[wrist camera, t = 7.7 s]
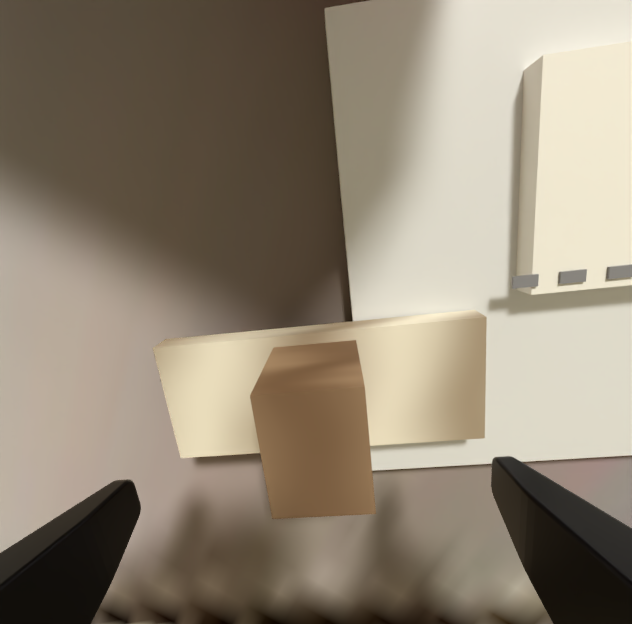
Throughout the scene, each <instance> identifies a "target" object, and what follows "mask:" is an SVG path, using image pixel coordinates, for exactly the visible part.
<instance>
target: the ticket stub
mask: <svg viewBox="0 0 632 624" xmlns="http://www.w3.org/2000/svg"><path fill="white" fill-rule="evenodd" d="M486 328H487V317H486V316H484V315H483V314H481V313H479V312H478V311H476V310H466V311H456V312H445V313H435V314H424V315H414V316H403V317H393V318H382V319H372V320H361V321H351V322H341V323H330V324H320V325H309V326H299V327H288V328H278V329H267V330H257V331H246V332H236V333H225V334H215V335H205V336H194V337H184V338H173V339H165V340H164V341H163V342H161V343H160V344H158V345H157V346H155V347H154V348H153V351H154V355H155V359H156V363H157V367H158V371H159V375H160V379H161V382H162V386H163V390H164V394H165V398H166V402H167V406H168V410H169V414H170V418H171V421H172V425H173V429H174V433H175V437H176V441H177V445H178V449H179V453H180V457H181V458H191V457H206V456H222V455H237V454H252V453H260V454H261V460H262V465H263V471H264V476H265V481H266V487H267V492H268V498H269V503H270V508H271V514H272V519H281V518H301V517H322V516H342V515H362V514H376V510H375V498H374V487H373V475H372V464H371V452H370V446H375V445H390V444H405V443H421V442H436V441H451V440H466V439H482V438H485V393H486Z"/></svg>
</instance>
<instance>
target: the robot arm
mask: <svg viewBox="0 0 632 624" xmlns="http://www.w3.org/2000/svg"><path fill="white" fill-rule="evenodd" d="M491 487H492V493H493V496H494V499H495V501H496V503H497V506H498V508H499V510H500V513H501V515H502V518H503V520H504V522H505V525H506V527H507V529H508V532H509V534H510V537H511V539H512V541H513V544H514V546H515V548H516V551H517V553H518V556H519V558H520V560H521V562H522V565H523V567H524V569H525V571H526V573H527V575H528V577H529V579H530V581H531V583H532V584H533V586H534V588H535V590H536V592H537V594H538V596H539V598H540V599H541V601H542V603H543V605H544V607H545V609H546V611H547V613H548V614H549V616H550V618H551V620H552V622H553V624H632V528H630V527H629V526H627V525H625V524H624V523H622V522H620V521H619V520H617V519H615V518H614V517H612V516H610V515H609V514H607V513H605V512H604V511H602V510H600V509H599V508H597V507H595V506H594V505H592V504H590V503H589V502H587V501H585V500H584V499H582V498H580V497H579V496H577V495H575V494H574V493H572V492H570V491H569V490H567V489H565V488H564V487H562V486H560V485H559V484H557V483H556V482H554V481H552V480H551V479H549V478H547V477H546V476H544V475H542V474H541V473H539V472H537V471H536V470H534V469H532V468H531V467H529V466H527V465H526V464H524V463H522V462H521V461H519V460H517V459H516V458H514V457H512V456H501V457H495V458H493V460H492V477H491ZM140 510H141V505H140V501H139V498H138V495H137V491H136V488H135V485H134V482H133V481H132V480H116V481H113V482H112V483H110V484H108V485H107V486H105V487H104V488H102V489H101V490H99V491H97V492H96V493H94V494H93V495H91V496H90V497H88V498H86V499H85V500H83V501H82V502H80V503H79V504H77V505H75V506H74V507H72V508H71V509H69V510H67V511H66V512H64V513H63V514H61V515H60V516H58V517H56V518H55V519H53V520H52V521H50V522H49V523H47V524H45V525H44V526H42V527H41V528H39V529H38V530H36V531H34V532H33V533H31V534H30V535H28V536H26V537H25V538H23V539H22V540H20V541H19V542H17V543H15V544H14V545H12V546H11V547H9V548H8V549H6V550H4V551H3V552H1V553H0V624H91V622H92V620H93V618H94V616H95V614H96V612H97V610H98V608H99V606H100V604H101V602H102V600H103V599H104V597H105V595H106V593H107V590H108V588H109V586H110V584H111V582H112V580H113V578H114V575H115V573H116V571H117V568H118V566H119V564H120V561H121V559H122V556H123V554H124V552H125V549H126V547H127V544H128V542H129V540H130V537H131V535H132V532H133V530H134V527H135V525H136V523H137V520H138V518H139V515H140Z"/></svg>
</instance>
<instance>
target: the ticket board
mask: <svg viewBox="0 0 632 624" xmlns="http://www.w3.org/2000/svg"><path fill="white" fill-rule="evenodd" d="M325 28H326V39H327V50H328V61H329V72H330V83H331V94H332V105H333V116H334V127H335V137H336V148H337V159H338V170H339V181H340V192H341V203H342V214H343V225H344V236H345V247H346V257H347V268H348V279H349V290H350V301H351V312H352V321H361V320H372V319H382V318H393V317H403V316H414V315H424V314H435V313H445V312H456V311H466V310H476V311H478V312H479V313H481V314H483V315H484V316H486V317H487V328H486V393H485V438H482V439H466V440H451V441H436V442H421V443H405V444H390V445H375V446H370V452H371V464H372V471H375V470H392V469H409V468H426V467H443V466H459V465H476V464H492V460H493V458H495V457H501V456H512V457H514V458H516V459H517V460H519V461H521V462H527V461H544V460H560V459H577V458H594V457H611V456H628V455H632V0H369V1H363V2H357V3H351V4H345V5H339V6H334V7H328V8H325Z"/></svg>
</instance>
